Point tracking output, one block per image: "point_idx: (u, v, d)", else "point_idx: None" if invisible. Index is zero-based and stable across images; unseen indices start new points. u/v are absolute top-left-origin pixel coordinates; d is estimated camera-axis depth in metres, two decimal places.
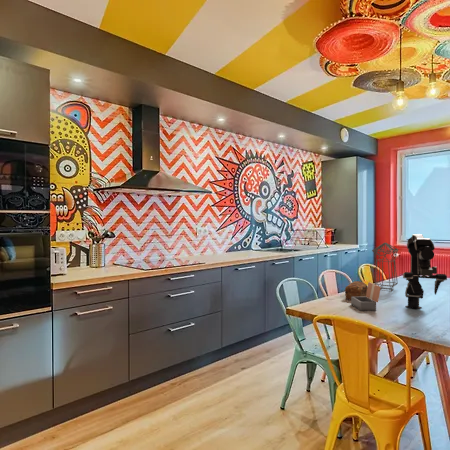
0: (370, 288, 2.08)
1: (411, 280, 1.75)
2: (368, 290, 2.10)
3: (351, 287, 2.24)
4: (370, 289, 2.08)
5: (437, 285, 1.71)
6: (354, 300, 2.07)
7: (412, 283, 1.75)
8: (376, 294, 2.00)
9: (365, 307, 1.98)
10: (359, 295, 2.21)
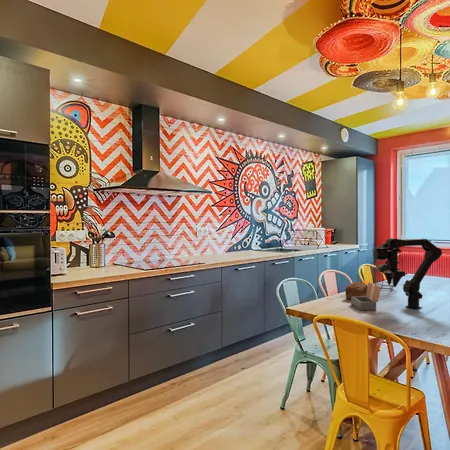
0: (370, 288, 2.08)
1: (384, 274, 2.10)
2: (368, 290, 2.10)
3: (351, 287, 2.24)
4: (370, 289, 2.08)
5: (393, 279, 2.01)
6: (354, 300, 2.07)
7: (386, 276, 2.09)
8: (376, 294, 2.00)
9: (365, 307, 1.98)
10: (359, 295, 2.21)
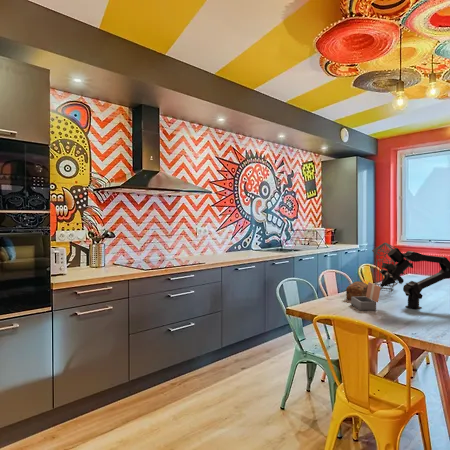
0: (370, 288, 2.08)
1: (384, 275, 2.07)
2: (368, 290, 2.10)
3: (352, 287, 2.24)
4: (370, 289, 2.08)
5: (385, 279, 2.04)
6: (354, 300, 2.07)
7: (384, 278, 2.06)
8: (376, 294, 2.00)
9: (365, 307, 1.98)
10: (360, 295, 2.20)
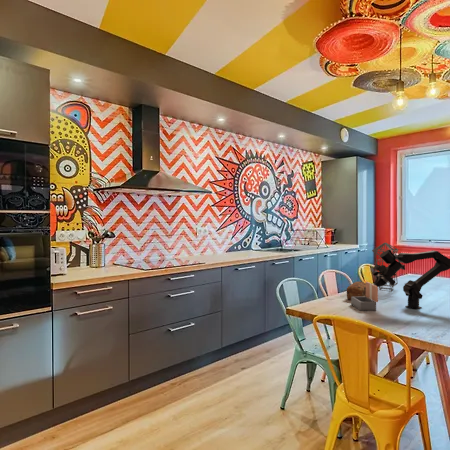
0: (368, 288, 2.08)
1: (376, 277, 2.07)
2: (367, 290, 2.10)
3: (353, 287, 2.23)
4: (368, 289, 2.08)
5: (377, 281, 2.04)
6: (354, 300, 2.07)
7: (376, 280, 2.06)
8: (375, 294, 2.00)
9: (365, 307, 1.98)
10: (361, 295, 2.20)
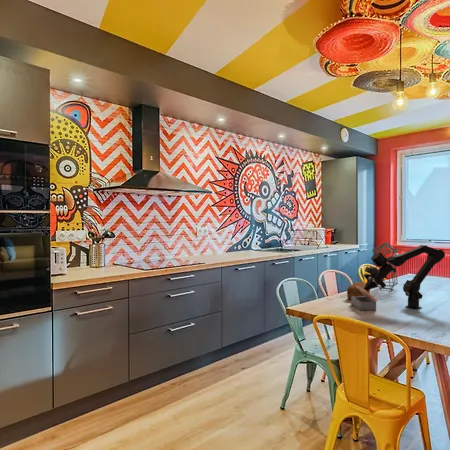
0: (362, 291, 2.08)
1: (367, 280, 2.07)
2: (362, 292, 2.10)
3: (353, 287, 2.23)
4: (362, 292, 2.08)
5: (368, 283, 2.04)
6: (354, 300, 2.07)
7: (367, 282, 2.06)
8: (370, 296, 2.00)
9: (365, 307, 1.98)
10: (361, 295, 2.20)
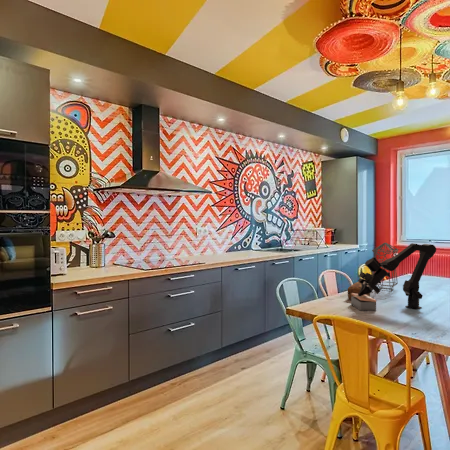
0: None
1: None
2: None
3: (354, 287, 2.23)
4: None
5: (362, 289, 2.04)
6: (354, 300, 2.07)
7: (361, 288, 2.06)
8: (368, 300, 2.00)
9: (365, 307, 1.98)
10: None
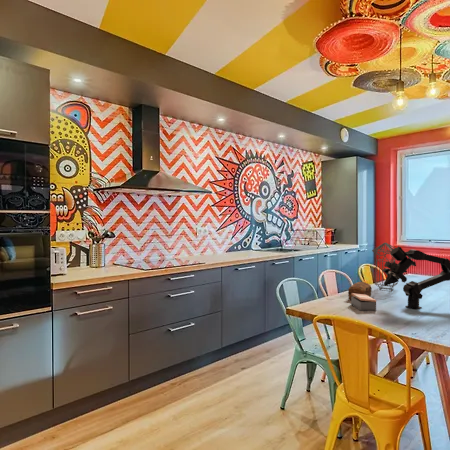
0: None
1: (387, 274, 2.07)
2: None
3: (354, 288, 2.22)
4: None
5: (388, 278, 2.04)
6: (354, 300, 2.07)
7: (387, 277, 2.06)
8: (368, 300, 2.00)
9: (365, 307, 1.98)
10: None
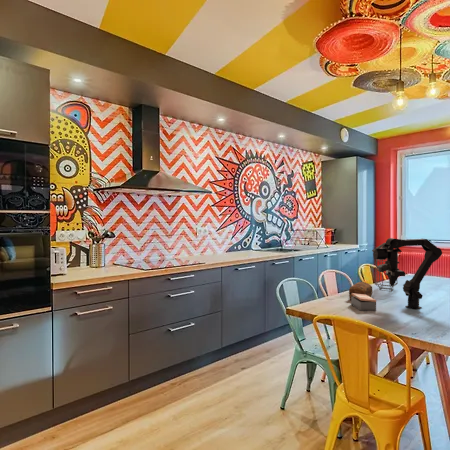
0: None
1: (387, 275, 2.07)
2: None
3: (355, 288, 2.22)
4: None
5: (390, 278, 2.04)
6: (354, 300, 2.07)
7: (388, 277, 2.06)
8: (368, 300, 2.00)
9: (365, 307, 1.98)
10: None
